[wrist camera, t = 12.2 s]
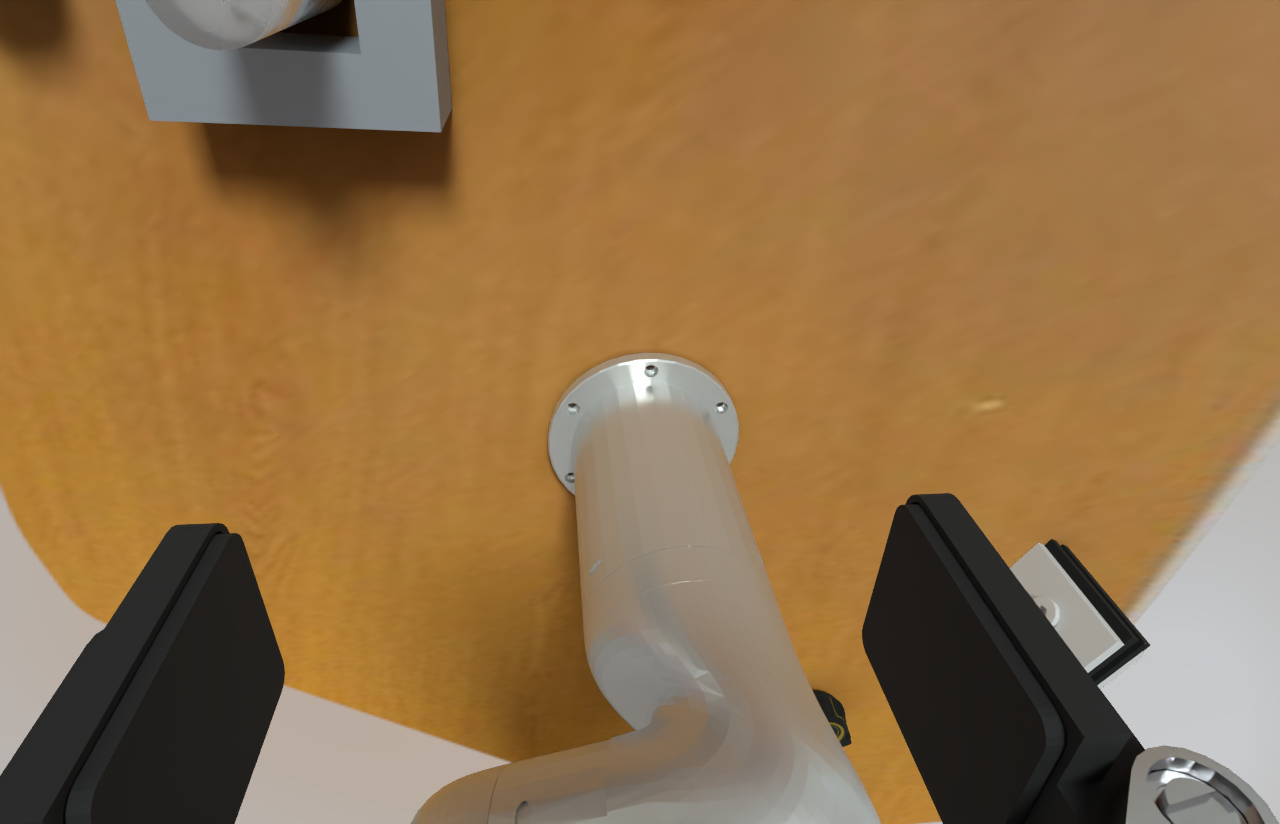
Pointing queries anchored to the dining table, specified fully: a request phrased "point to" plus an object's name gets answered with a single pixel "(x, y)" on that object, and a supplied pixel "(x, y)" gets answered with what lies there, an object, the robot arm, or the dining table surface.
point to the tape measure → (834, 716)
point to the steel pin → (234, 19)
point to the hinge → (1080, 611)
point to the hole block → (302, 72)
